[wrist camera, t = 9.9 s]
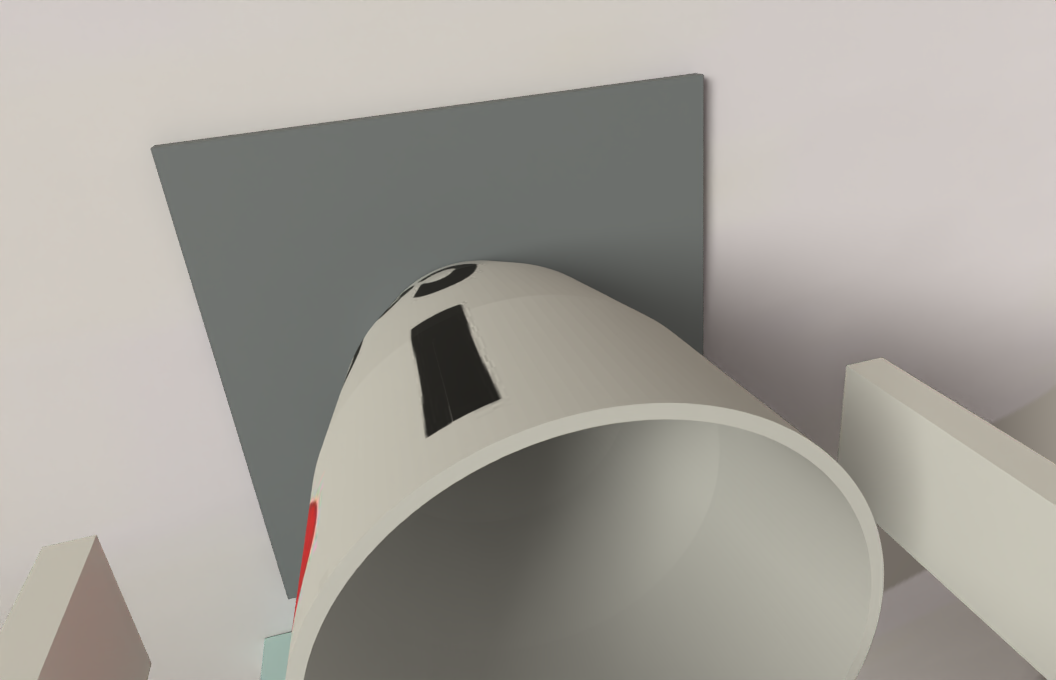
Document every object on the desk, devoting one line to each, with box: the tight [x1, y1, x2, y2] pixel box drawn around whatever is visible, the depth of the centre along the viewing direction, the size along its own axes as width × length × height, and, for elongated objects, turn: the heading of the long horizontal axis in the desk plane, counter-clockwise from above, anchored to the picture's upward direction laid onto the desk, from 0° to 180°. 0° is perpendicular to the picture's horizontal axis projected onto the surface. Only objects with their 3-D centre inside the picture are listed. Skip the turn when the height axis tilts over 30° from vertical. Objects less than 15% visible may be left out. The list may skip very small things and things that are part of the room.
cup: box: [285, 260, 884, 680], centre depth 14 cm, size 8×8×10 cm
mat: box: [151, 73, 703, 599], centre depth 19 cm, size 12×12×1 cm
